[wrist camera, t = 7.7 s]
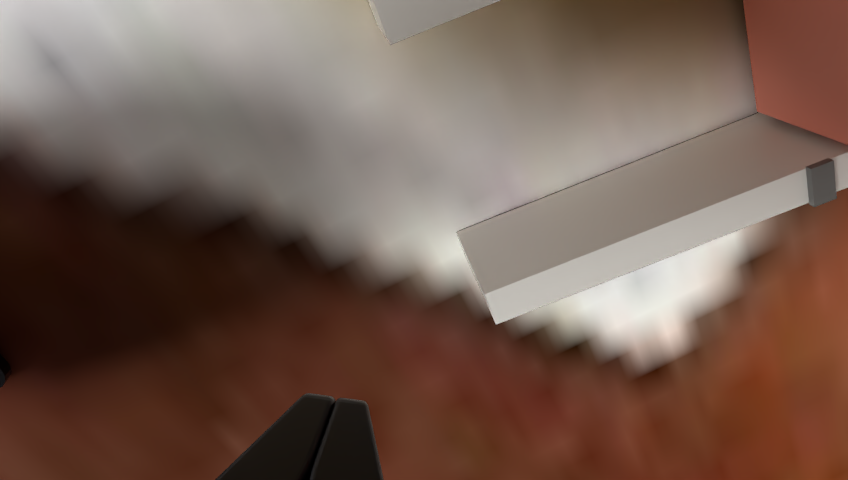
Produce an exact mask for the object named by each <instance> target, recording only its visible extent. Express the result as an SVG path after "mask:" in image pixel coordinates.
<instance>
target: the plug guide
mask: <svg viewBox="0 0 848 480" xmlns="http://www.w3.org/2000/svg"><path fill="white" fill-rule="evenodd" d="M498 1H500V0H368V2H369V5H370V8H371V10H372V13H373V15H374V18H375V21H376V23H377V26H378V27H379V29H380V30H381V32H382V33H383V35H384V36H385V38H386V39H387V41H388V42H389V44H390V45H392V44H394V43H397V42H399V41H401V40H404V39H406V38H409V37H411V36H414V35H416V34H419V33H421V32H424V31H426V30H429V29H431V28H434V27H436V26H438V25H441V24H443V23H446V22H448V21H451V20H453V19H456V18H458V17H461V16H463V15H466V14H468V13H471V12H473V11H475V10H478V9H480V8H483V7H485V6H488V5H490V4H493V3H495V2H498ZM845 188H848V145H846V144H844V143H841V142H838V141H835V140H833V139H830V138H827V137H825V136H822V135H819V134H816V133H814V132H811V131H808V130H806V129H803V128H800V127H798V126H795V125H792V124H789V123H787V122H784V121H781V120H779V119H776V118H773V117H770V116H768V115H765V114H762V113H760V112H759V113H757V114H754V115H752V116H749V117H747V118H744V119H742V120H739V121H736V122H734V123H731V124H729V125H726V126H724V127H721V128H719V129H716V130H714V131H711V132H709V133H706V134H704V135H701V136H698V137H696V138H693V139H691V140H688V141H686V142H683V143H681V144H678V145H676V146H673V147H671V148H668V149H666V150H663V151H661V152H658V153H655V154H653V155H650V156H648V157H645V158H643V159H640V160H638V161H635V162H633V163H630V164H628V165H625V166H623V167H620V168H617V169H615V170H612V171H610V172H607V173H605V174H602V175H600V176H597V177H595V178H592V179H590V180H587V181H585V182H582V183H579V184H577V185H574V186H572V187H569V188H567V189H564V190H562V191H559V192H557V193H554V194H552V195H549V196H547V197H544V198H542V199H539V200H536V201H534V202H531V203H529V204H526V205H524V206H521V207H519V208H516V209H514V210H511V211H509V212H506V213H504V214H501V215H498V216H496V217H493V218H491V219H488V220H486V221H483V222H481V223H478V224H476V225H473V226H471V227H468V228H466V229H463V230H461V231H458V232H456V233H457V235H458V238H459V241H460V243H461V246H462V248H463V251H464V254H465V256H466V259H467V261H468V263H469V265H470V268H471V270H472V272H473V274H474V277H475V279H476V281H477V283H478V286H479V288H480V290H481V292H482V294H483V297H484V299H485V301H486V303H487V306H488V308H489V310H490V312H491V315H492V317H493V319H494V321H495V324H499V323H501V322H504V321H507V320H509V319H512V318H514V317H517V316H519V315H522V314H525V313H527V312H530V311H532V310H535V309H537V308H540V307H542V306H545V305H548V304H550V303H553V302H555V301H558V300H560V299H563V298H566V297H568V296H571V295H573V294H576V293H578V292H581V291H584V290H586V289H589V288H591V287H594V286H596V285H599V284H601V283H604V282H607V281H609V280H612V279H614V278H617V277H619V276H622V275H625V274H627V273H630V272H632V271H635V270H637V269H640V268H642V267H645V266H648V265H650V264H653V263H655V262H658V261H660V260H663V259H666V258H668V257H671V256H673V255H676V254H678V253H681V252H684V251H686V250H689V249H691V248H694V247H696V246H699V245H701V244H704V243H707V242H709V241H712V240H714V239H717V238H719V237H722V236H725V235H727V234H730V233H732V232H735V231H737V230H740V229H743V228H745V227H748V226H750V225H753V224H755V223H758V222H760V221H763V220H766V219H768V218H771V217H773V216H776V215H778V214H781V213H784V212H786V211H789V210H791V209H794V208H796V207H799V206H802V205H804V204H807V203H809V204H810V205H812V206H813V207H816V206H818V205H821V204H824V203H826V202H829V201H831V200H834V199H836V198H837V196H836V192H837V191H840V190H843V189H845Z"/></svg>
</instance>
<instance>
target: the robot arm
mask: <svg viewBox="0 0 848 480" xmlns="http://www.w3.org/2000/svg"><path fill="white" fill-rule="evenodd" d="M10 375H11V367H10V366H9V364H8V362H7V361H6V360H5V359H4V358H3V356H2V355H1V354H0V387H2V386H3V385H4V383H5V382H6V381H7V380H8V378H9V376H10ZM216 480H384V479H383V475H382V470H381V465H380V460H379V455H378V451H377V446H376V441H375V436H374V432H373V427H372V422H371V417H370V412H369V408H368V405H367V403H366V402H365V401H361V400H354V399H347V398H339V399H338V400H337V401H335V399H334V398H333V397H331V396H325V395H318V394H310V393H308V394H305V395H303V396H302V397H301V398H300V399H299V400H297V401H296V402H295V403H294V404H293V405H292V406H291V407H290V408H289V409H288V410H287V411H286V412H285V413H284V414H283V415H282V416H281V417H280V418H279V419H278V420H277V421H276V422H275V423H274V424H273V425H272V426H271V427H269V428H268V429H267V430H266V431H265V432H264V433H263V434H262V435H261V436H260V437H259V438H258V439H257V440H256V441H255V442H254V443H253V444H252V445H251V446H250V447H249V448H248V449H247V450H246V451H245V452H244V453H242V454H241V455H240V456H239V457H238V458H237V459H236V460H235V461H234V462H233V463H232V464H231V465H230V466H229V467H228V468H227V469H226V470H225V471H224V472H223V473H222V474H221V475H220V476H219V477H218V478H217V479H216Z"/></svg>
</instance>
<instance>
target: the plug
mask: <svg viewBox="0 0 848 480" xmlns="http://www.w3.org/2000/svg"><path fill="white" fill-rule="evenodd" d="M743 4H744V12H745V20H746V28H747V36H748V44H749V52H750V60H751V68H752V76H753V84H754V92H755V100H756V108H757V112H760V113H762V114H765V115H768V116H770V117H773V118H776V119H779V120H781V121H784V122H787V123H789V124H792V125H795V126H798V127H800V128H803V129H806V130H808V131H811V132H814V133H816V134H819V135H822V136H825V137H827V138H830V139H833V140H835V141H838V142H841V143H844V144H846V145H848V0H743Z"/></svg>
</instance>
